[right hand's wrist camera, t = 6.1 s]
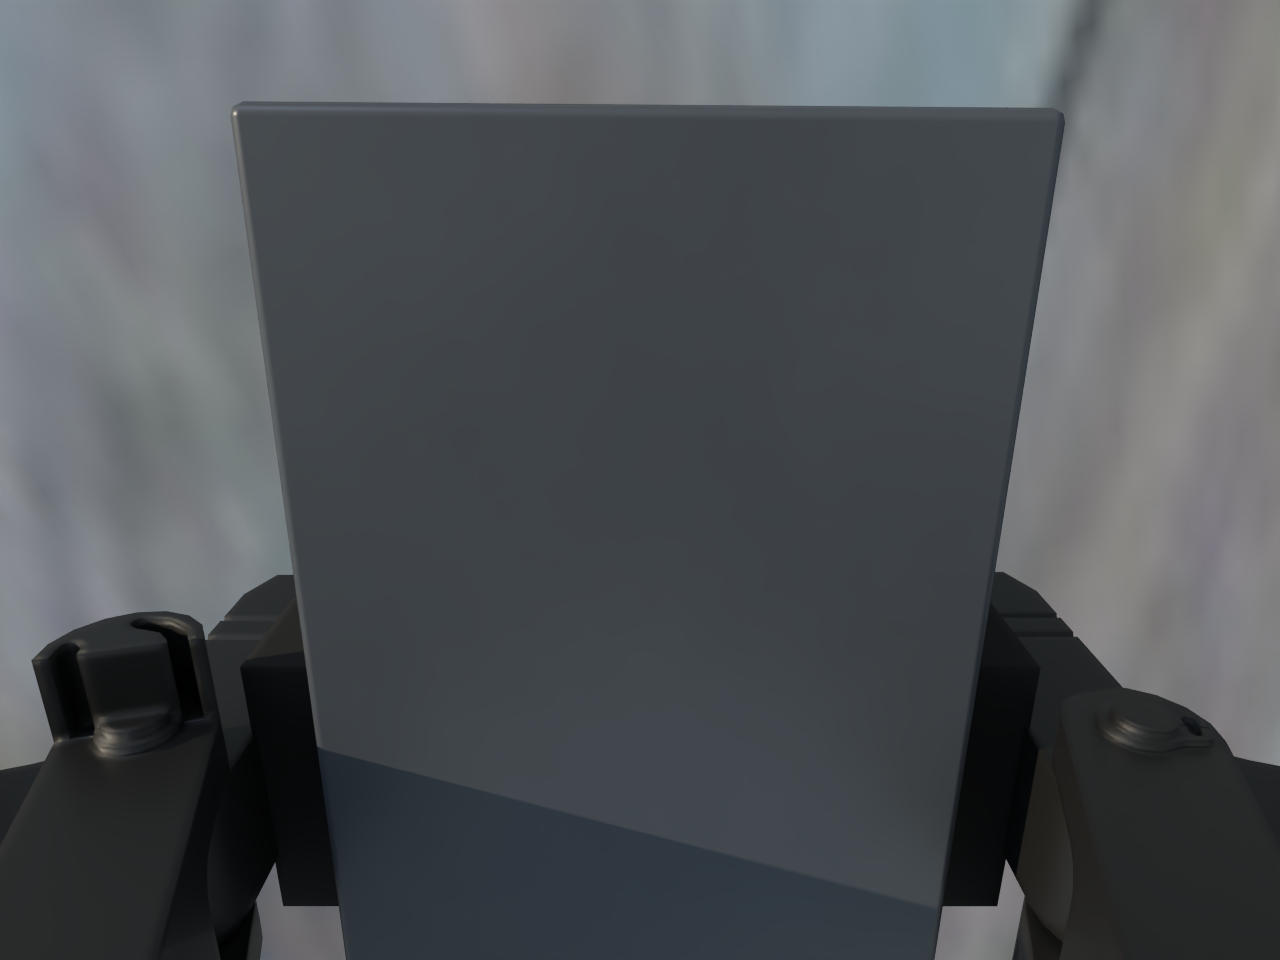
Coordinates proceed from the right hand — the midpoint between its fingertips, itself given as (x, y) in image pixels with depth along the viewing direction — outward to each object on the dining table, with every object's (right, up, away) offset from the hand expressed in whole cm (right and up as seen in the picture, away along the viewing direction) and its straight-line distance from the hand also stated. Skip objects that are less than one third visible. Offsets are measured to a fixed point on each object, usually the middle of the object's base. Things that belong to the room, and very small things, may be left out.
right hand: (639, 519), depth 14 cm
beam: (0, -22, +8) cm, 23 cm away
